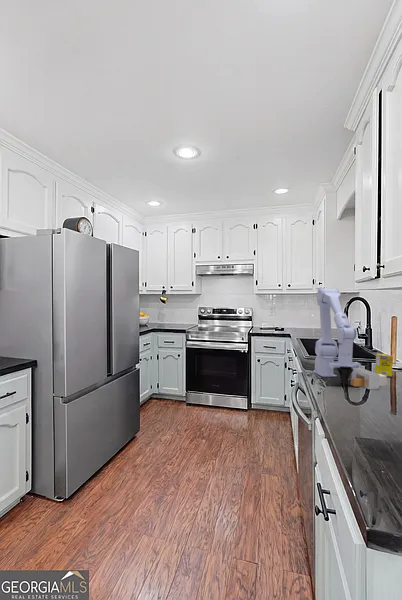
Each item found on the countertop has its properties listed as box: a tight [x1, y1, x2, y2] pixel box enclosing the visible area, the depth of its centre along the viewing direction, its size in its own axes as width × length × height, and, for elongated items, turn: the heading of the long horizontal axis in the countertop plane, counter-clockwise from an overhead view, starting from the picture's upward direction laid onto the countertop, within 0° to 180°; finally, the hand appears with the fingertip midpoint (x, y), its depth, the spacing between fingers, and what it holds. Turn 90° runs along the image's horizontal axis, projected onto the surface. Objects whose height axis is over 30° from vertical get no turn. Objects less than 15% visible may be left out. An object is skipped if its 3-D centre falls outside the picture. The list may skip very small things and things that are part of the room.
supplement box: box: [374, 353, 394, 379], centre depth 158 cm, size 6×6×11 cm
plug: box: [350, 374, 389, 387], centre depth 141 cm, size 4×17×4 cm, turn 101°
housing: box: [351, 367, 380, 390], centre depth 141 cm, size 12×5×6 cm, turn 10°
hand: (344, 383), depth 139 cm, fingers closed
